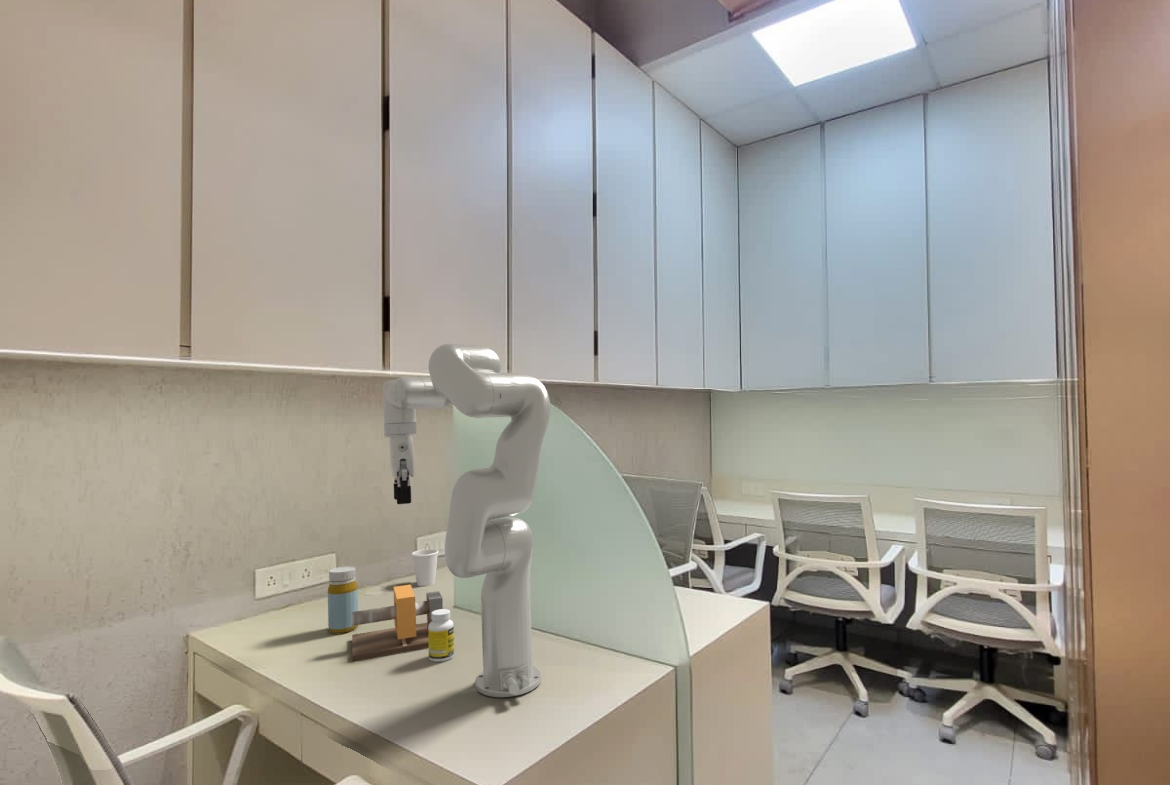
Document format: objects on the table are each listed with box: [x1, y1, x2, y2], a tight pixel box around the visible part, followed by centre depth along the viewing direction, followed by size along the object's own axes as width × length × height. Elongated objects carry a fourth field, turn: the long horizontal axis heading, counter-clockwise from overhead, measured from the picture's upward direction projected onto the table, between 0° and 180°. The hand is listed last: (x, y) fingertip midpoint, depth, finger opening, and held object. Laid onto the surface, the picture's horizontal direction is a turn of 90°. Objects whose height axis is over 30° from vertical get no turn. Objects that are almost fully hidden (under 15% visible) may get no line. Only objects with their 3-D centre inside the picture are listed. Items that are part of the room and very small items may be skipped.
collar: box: [393, 584, 417, 639], centre depth 138 cm, size 11×4×9 cm, turn 22°
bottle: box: [327, 565, 359, 634], centre depth 148 cm, size 7×7×15 cm
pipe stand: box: [351, 590, 444, 662], centre depth 137 cm, size 14×20×10 cm
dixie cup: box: [411, 548, 439, 587], centre depth 187 cm, size 8×8×10 cm
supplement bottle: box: [428, 608, 455, 663], centre depth 127 cm, size 5×5×10 cm
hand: (402, 501), depth 142 cm, fingers open, 9 cm apart
